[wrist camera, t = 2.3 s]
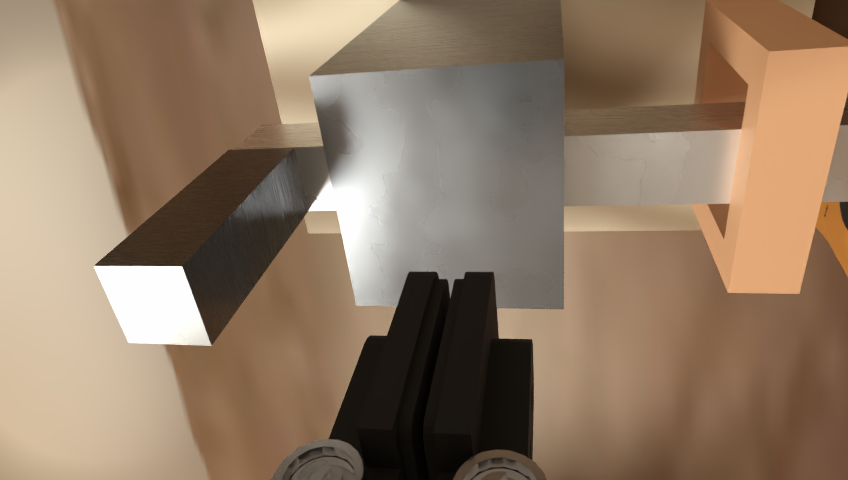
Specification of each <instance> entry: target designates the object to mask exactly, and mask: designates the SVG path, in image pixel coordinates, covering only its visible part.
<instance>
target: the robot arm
mask: <svg viewBox="0 0 848 480" xmlns="http://www.w3.org/2000/svg"><path fill="white" fill-rule="evenodd" d="M533 410H534V374H533V343H532V339H499V336H498V321H497V306H496V291H495V277H494V272H465V275H464V279H455V280H454V284H453V288H452V293H451V298H450V291H449V283H448V280H447V279H439V276H438V273H437V272H409V273H408V275H407V278H406V281H405V284H404V287H403V290H402V293H401V296H400V299H399V302H398V305H397V308H396V311H395V314H394V317H393V320H392V323H391V326H390V329H389V332H388V335H387V336H369V337H368V338H367V340H366V342H365V344H364V347H363V349H362V352H361V355H360V357H359V360H358V362H357V365H356V368H355V370H354V373H353V376H352V378H351V381H350V384H349V386H348V389H347V392H346V394H345V397H344V400H343V402H342V405H341V408H340V410H339V413H338V416H337V418H336V421H335V424H334V426H333V429H332V432H331V434H330V437H329V439H322V440H317V441H312V442H310V443H307V444H305V445H303V446H301V447H299V448H297V449H296V450H295V451H293V452H292V453H291V454H289V455H288V456H287V457H286V458H285V459H284V461H283V462H282V463H281V464H280V466H279V467H278V468H277V470H276V472H275V473H274V475H273V477H272V478H271V480H547V479H546V477H545V474H544V473H543V471H542V470H541V469H540V468H539V466H538V465H537V464H536V463H535V462H533V461H532V452H533Z"/></svg>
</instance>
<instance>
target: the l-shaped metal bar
mask: <svg viewBox="0 0 848 480" xmlns="http://www.w3.org/2000/svg"><path fill="white" fill-rule="evenodd" d="M745 104H746V101H745V102H725V103H705V104H684V105H664V106H643V107H623V108H602V109H582V110H564V206H615V205H676V204H730V199H731V193H732V186H733V180H734V174H735V167H736V161H737V155H738V148H739V142H740V135H741V129H742V123H743V116H744V110H745ZM822 202H848V97H847V98H846V102H845V106H844V110H843V115H842V119H841V123H840V127H839V131H838V135H837V139H836V144H835V148H834V152H833V156H832V160H831V164H830V168H829V173H828V177H827V181H826V185H825V189H824V193H823V197H822ZM313 210H337V209H336V204H335V200H334V195H333V190H332V185H331V180H330V175H329V171H328V166H327V161H326V156H325V151H324V146H323V142H322V137H321V132H320V127H319V122H316V123H296V124H275V125H262V126H261V127H260V128H258V129H257V130H256V131H255V132H254V133H253V134H252V135H250V136H249V137H248V138H247V139H246V140H245V141H244V142H242V143H241V144H240V145H239V146H238V147H237V148H235V149H234V150H228V151H227V152H226V153H225V154H223V155H222V156H221V157H220V158H219V159H218V160H216V161H215V162H214V163H213V164H212V165H211V166H210V167H208V168H207V169H206V170H205V171H204V172H203V173H201V174H200V175H199V176H198V177H197V178H196V179H194V180H193V181H192V182H191V183H190V184H189V185H187V186H186V187H185V188H184V189H183V190H182V191H180V192H179V193H178V194H177V195H176V196H175V197H173V198H172V199H171V200H170V201H169V202H168V203H166V204H165V205H164V206H163V207H162V208H161V209H159V210H158V211H157V212H156V213H155V214H154V215H152V216H151V217H150V218H149V219H148V220H147V221H145V222H144V223H143V224H142V225H141V226H140V227H138V228H137V229H136V230H135V231H134V232H133V233H132V234H130V235H129V236H128V237H127V238H126V239H125V240H123V241H122V242H121V243H120V244H119V245H118V246H116V247H115V248H114V249H113V250H112V251H111V252H109V253H108V254H107V255H106V256H105V257H104V258H102V259H101V260H100V261H99V262H98V263H97V264H95V265H94V268H95V270H96V272H97V275H98V277H99V279H100V281H101V283H102V285H103V288H104V290H105V292H106V294H107V296H108V298H109V301H110V303H111V305H112V307H113V310H114V312H115V314H116V316H117V318H118V320H119V322H120V325H121V327H122V329H123V331H124V334H125V336H126V338H127V340H128V342H129V343H149V344H177V345H206V346H212V344H213V343H214V341H215V340H216V339H217V337H218V336H219V335H220V333H221V332H222V330H223V329H224V328H225V326H226V325H227V323H228V322H229V321H230V319H231V318H232V316H233V315H234V314H235V312H236V311H237V310H238V308H239V307H240V305H241V304H242V303H243V301H244V300H245V298H246V297H247V296H248V294H249V293H250V291H251V290H252V289H253V287H254V286H255V285H256V283H257V282H258V280H259V279H260V278H261V276H262V275H263V273H264V272H265V271H266V269H267V268H268V266H269V265H270V264H271V262H272V261H273V259H274V258H275V257H276V255H277V254H278V253H279V251H280V250H281V248H282V247H283V246H284V244H285V243H286V241H287V240H288V239H289V237H290V236H291V234H292V233H293V232H294V230H295V229H296V228H297V226H298V225H299V223H300V222H301V221H302V219H303V218H304V216H305V215H306V214H307V212H308V211H313Z"/></svg>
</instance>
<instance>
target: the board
mask: <svg viewBox="0 0 848 480" xmlns="http://www.w3.org/2000/svg"><path fill="white" fill-rule="evenodd" d="M398 1H399V0H253V4H254V8H255V13H256V17H257V21H258V25H259V29H260V34H261V38H262V42H263V46H264V50H265V54H266V59H267V63H268V67H269V71H270V75H271V80H272V84H273V88H274V92H275V96H276V100H277V105H278V109H279V113H280V117H281V121H282V124H296V123H316V122H318V118H317V113H316V108H315V103H314V98H313V93H312V89H311V84H310V79H309V76H310V75H311V74H312V73H313V72H314V71H316V70H317V69H318V68H319V67H320V66H322V65H323V64H324V63H325V62H326V61H328V60H329V59H330V58H331V57H332V56H334V55H335V54H336V53H337V52H338V51H339V50H341V49H342V48H343V47H344V46H345V45H347V44H348V43H349V42H350V41H351V40H353V39H354V38H355V37H356V36H357V35H359V34H360V33H361V32H362V31H363V30H365V29H366V28H367V27H368V26H369V25H371V24H372V23H373V22H374V21H375V20H376V19H378V18H379V17H380V16H381V15H382V14H384V13H385V12H386V11H387V10H388V9H390V8H391V7H392V6H393V5H394V4H396V3H397V2H398ZM779 1H781V2H783V3H784V4H786V5H788V6H790V7H792V8H793V9H795V10H797V11H799V12H800V13H802V14H804V15H806V16H807V17H809V18H811V19H812V15H813V10H814V5H815V0H779ZM705 3H706V0H561V14H562V30H563V45H564V110H582V109H602V108H623V107H643V106H664V105H684V104H694V100H695V91H696V82H697V73H698V64H699V56H700V47H701V38H702V29H703V20H704V12H705ZM304 218H305V222H306V226H307V230H308V233H341V228H340V224H339V219H338V214H337V210H313V211H308V212H307V214H306V215H305V216H304ZM660 230H702V229H701V227H700V224H699V222H698V220H697V217H696V215H695V213H694V210H693V208H692V205H691V204H676V205H615V206H564V231H660Z"/></svg>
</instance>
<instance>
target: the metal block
mask: <svg viewBox="0 0 848 480" xmlns="http://www.w3.org/2000/svg"><path fill="white" fill-rule="evenodd" d="M309 79H310V84H311V89H312V93H313V98H314V103H315V108H316V113H317V118H318V122H319V127H320V132H321V137H322V142H323V146H324V151H325V156H326V161H327V166H328V171H329V175H330V180H331V185H332V190H333V195H334V200H335V204H336V209H337V214H338V219H339V224H340V228H341V233H342V238H343V243H344V248H345V253H346V257H347V262H348V267H349V272H350V277H351V281H352V286H353V291H354V296H355V301H356V305H358V306H397V305H398V302H399V299H400V296H401V293H402V290H403V287H404V284H405V281H406V278H407V275H408V273H409V272H437V273H438V276H439V279H447V280H448V283H449V291H450V298H451V293H452V288H453V284H454V280H455V279H464V275H465V272H494V277H495V291H496V306H497V308H522V309H564V45H563V30H562V14H561V0H399V1H398V2H397V3H396V4H394V5H393V6H392V7H391V8H390V9H388V10H387V11H386V12H385V13H384V14H382V15H381V16H380V17H379V18H378V19H376V20H375V21H374V22H373V23H372V24H371V25H369V26H368V27H367V28H366V29H365V30H363V31H362V32H361V33H360V34H359V35H357V36H356V37H355V38H354V39H353V40H351V41H350V42H349V43H348V44H347V45H345V46H344V47H343V48H342V49H341V50H339V51H338V52H337V53H336V54H335V55H334V56H332V57H331V58H330V59H329V60H328V61H326V62H325V63H324V64H323V65H322V66H320V67H319V68H318V69H317V70H316V71H314V72H313V73H312V74H311V75H310V76H309Z"/></svg>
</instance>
